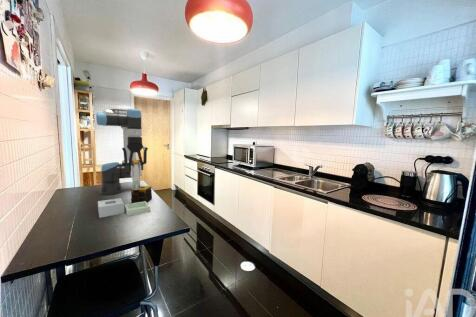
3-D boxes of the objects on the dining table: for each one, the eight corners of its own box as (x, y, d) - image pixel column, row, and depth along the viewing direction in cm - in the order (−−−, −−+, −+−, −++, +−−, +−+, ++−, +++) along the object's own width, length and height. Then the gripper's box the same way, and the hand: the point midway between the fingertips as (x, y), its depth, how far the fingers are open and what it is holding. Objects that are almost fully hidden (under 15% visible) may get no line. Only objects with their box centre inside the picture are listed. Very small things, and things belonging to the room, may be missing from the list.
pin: (131, 188, 121) (130, 160, 119) (140, 187, 123) (139, 159, 122) (132, 190, 117) (131, 161, 115) (141, 189, 120) (140, 160, 118)
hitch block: (98, 211, 120) (97, 201, 119) (121, 207, 127) (120, 198, 126) (99, 217, 110) (98, 207, 110) (124, 213, 118) (123, 203, 117)
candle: (145, 204, 134) (145, 189, 133) (130, 203, 134) (130, 189, 133) (152, 199, 144) (152, 185, 143) (138, 199, 144) (138, 185, 143)
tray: (124, 209, 123) (124, 204, 123) (145, 206, 130) (145, 201, 130) (127, 216, 113) (127, 210, 113) (150, 211, 121) (150, 206, 120)
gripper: (118, 136, 109) (120, 178, 111) (151, 136, 119) (152, 175, 121) (117, 136, 115) (118, 176, 117) (148, 136, 125) (149, 173, 127)
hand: (136, 176), depth 119 cm, fingers closed on pin, 4 cm apart
